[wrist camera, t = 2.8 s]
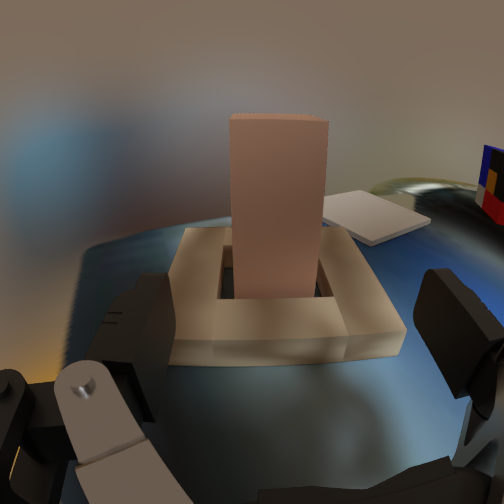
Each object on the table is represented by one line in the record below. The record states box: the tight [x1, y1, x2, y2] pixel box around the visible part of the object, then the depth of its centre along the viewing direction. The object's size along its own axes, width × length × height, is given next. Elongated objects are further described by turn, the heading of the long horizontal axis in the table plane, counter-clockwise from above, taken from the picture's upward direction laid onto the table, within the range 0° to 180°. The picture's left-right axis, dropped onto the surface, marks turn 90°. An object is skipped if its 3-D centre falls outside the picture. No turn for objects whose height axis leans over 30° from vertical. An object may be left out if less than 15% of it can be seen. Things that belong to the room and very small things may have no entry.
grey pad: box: [322, 190, 431, 247], centre depth 36 cm, size 12×12×1 cm
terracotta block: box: [229, 114, 329, 299], centre depth 20 cm, size 5×5×12 cm
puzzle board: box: [168, 226, 407, 367], centre depth 22 cm, size 14×14×2 cm
